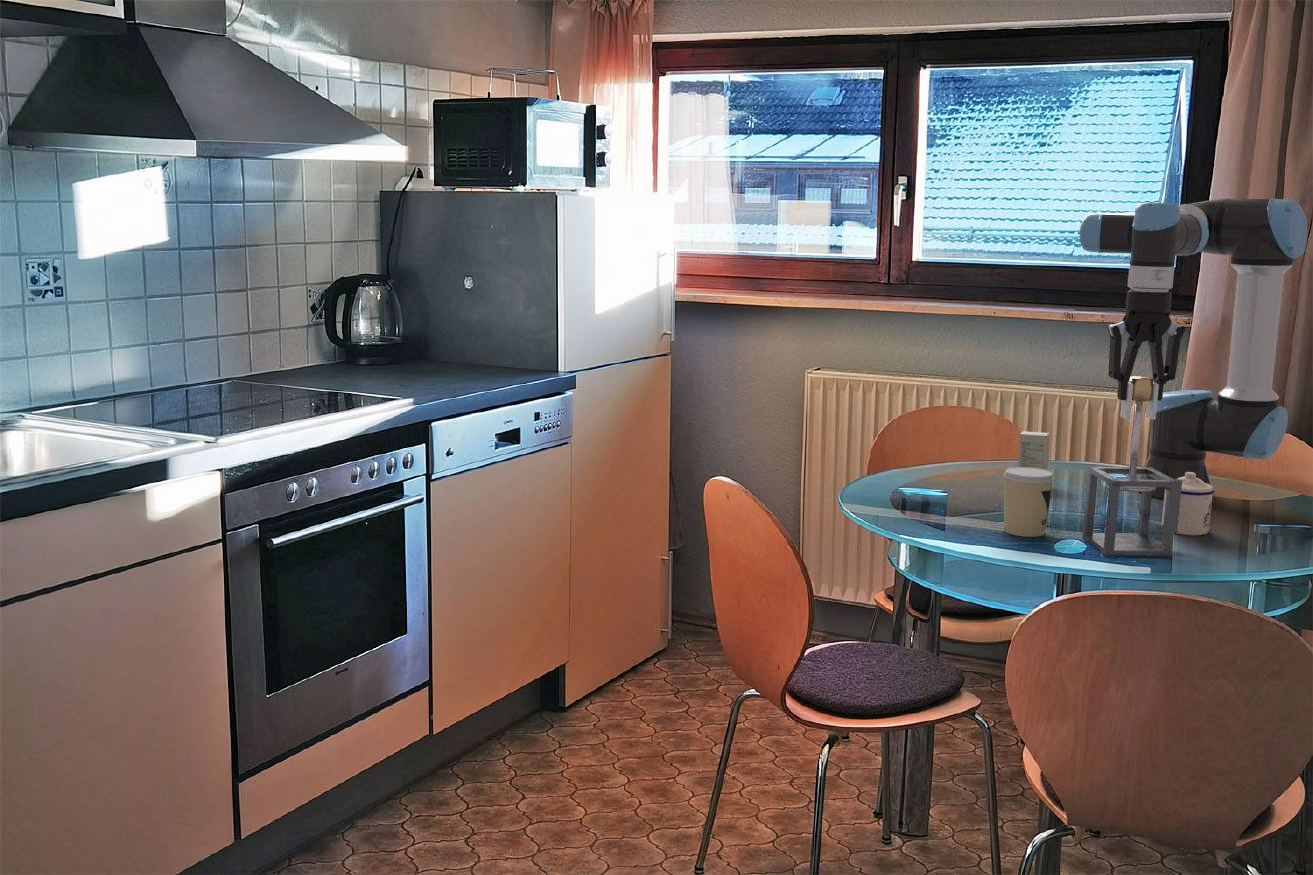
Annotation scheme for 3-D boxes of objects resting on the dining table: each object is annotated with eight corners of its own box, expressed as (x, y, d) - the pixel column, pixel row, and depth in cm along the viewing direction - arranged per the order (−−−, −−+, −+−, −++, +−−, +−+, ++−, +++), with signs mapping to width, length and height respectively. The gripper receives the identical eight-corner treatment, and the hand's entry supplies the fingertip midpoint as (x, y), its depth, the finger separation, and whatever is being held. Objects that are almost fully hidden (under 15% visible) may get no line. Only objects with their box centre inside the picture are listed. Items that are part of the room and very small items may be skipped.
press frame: (1160, 538, 230) (1167, 467, 228) (1188, 556, 219) (1195, 482, 216) (1082, 537, 230) (1088, 466, 228) (1105, 555, 219) (1112, 480, 216)
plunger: (1144, 481, 226) (1154, 375, 223) (1163, 492, 218) (1174, 381, 214) (1100, 481, 226) (1109, 374, 222) (1117, 491, 218) (1127, 380, 214)
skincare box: (1047, 485, 274) (1051, 432, 272) (1044, 488, 270) (1048, 435, 268) (1018, 481, 277) (1022, 430, 274) (1015, 485, 273) (1019, 433, 271)
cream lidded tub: (1052, 539, 229) (1057, 478, 226) (1001, 536, 231) (1005, 475, 228) (1046, 527, 238) (1051, 468, 235) (997, 523, 240) (1002, 465, 237)
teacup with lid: (1214, 537, 232) (1221, 479, 229) (1164, 534, 234) (1170, 476, 231) (1200, 522, 243) (1206, 466, 241) (1153, 519, 245) (1158, 463, 243)
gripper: (1110, 290, 212) (1099, 420, 216) (1206, 292, 212) (1193, 422, 216) (1094, 287, 219) (1084, 413, 223) (1187, 289, 219) (1175, 415, 224)
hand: (1137, 417), depth 220 cm, fingers closed on plunger, 4 cm apart
